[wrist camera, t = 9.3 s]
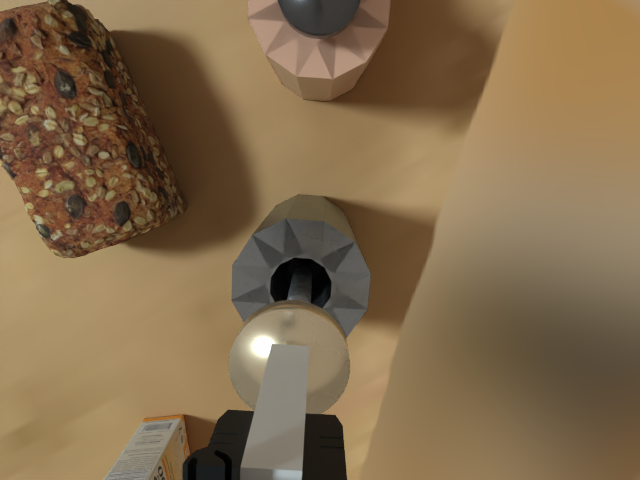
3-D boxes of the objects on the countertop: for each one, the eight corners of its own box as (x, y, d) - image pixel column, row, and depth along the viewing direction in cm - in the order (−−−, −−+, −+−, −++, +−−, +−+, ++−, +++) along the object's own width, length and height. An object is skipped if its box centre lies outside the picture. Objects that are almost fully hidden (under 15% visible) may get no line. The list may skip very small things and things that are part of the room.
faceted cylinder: (260, 307, 43) (229, 387, 28) (264, 192, 41) (233, 214, 26) (346, 312, 43) (359, 395, 29) (355, 198, 41) (376, 224, 26)
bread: (13, 62, 38) (-92, 31, 28) (117, 20, 37) (46, -26, 28) (101, 246, 42) (34, 274, 32) (197, 211, 41) (159, 230, 31)
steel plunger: (266, 306, 30) (227, 417, 17) (268, 239, 29) (229, 306, 16) (334, 311, 30) (345, 424, 17) (340, 244, 29) (354, 314, 16)
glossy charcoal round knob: (288, 69, 35) (273, 30, 24) (291, 6, 34) (277, -67, 23) (346, 73, 35) (359, 36, 24) (351, 10, 34) (366, -60, 23)
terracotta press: (268, 97, 39) (245, 73, 27) (274, -48, 36) (252, -144, 24) (363, 103, 39) (383, 82, 27) (376, -40, 36) (403, -132, 24)
